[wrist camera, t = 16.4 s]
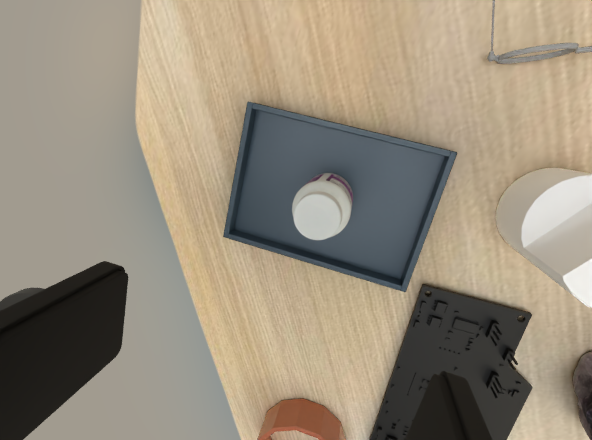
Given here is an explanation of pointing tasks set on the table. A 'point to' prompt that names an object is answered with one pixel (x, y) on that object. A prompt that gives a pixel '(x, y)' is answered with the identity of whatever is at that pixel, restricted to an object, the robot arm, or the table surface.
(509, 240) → the base with upright slab
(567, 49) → the eyeglasses
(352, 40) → the table surface
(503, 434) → the circuit board
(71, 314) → the robot arm
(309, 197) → the pill bottle
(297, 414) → the terracotta faceted ring
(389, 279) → the tray
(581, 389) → the crystal cluster
